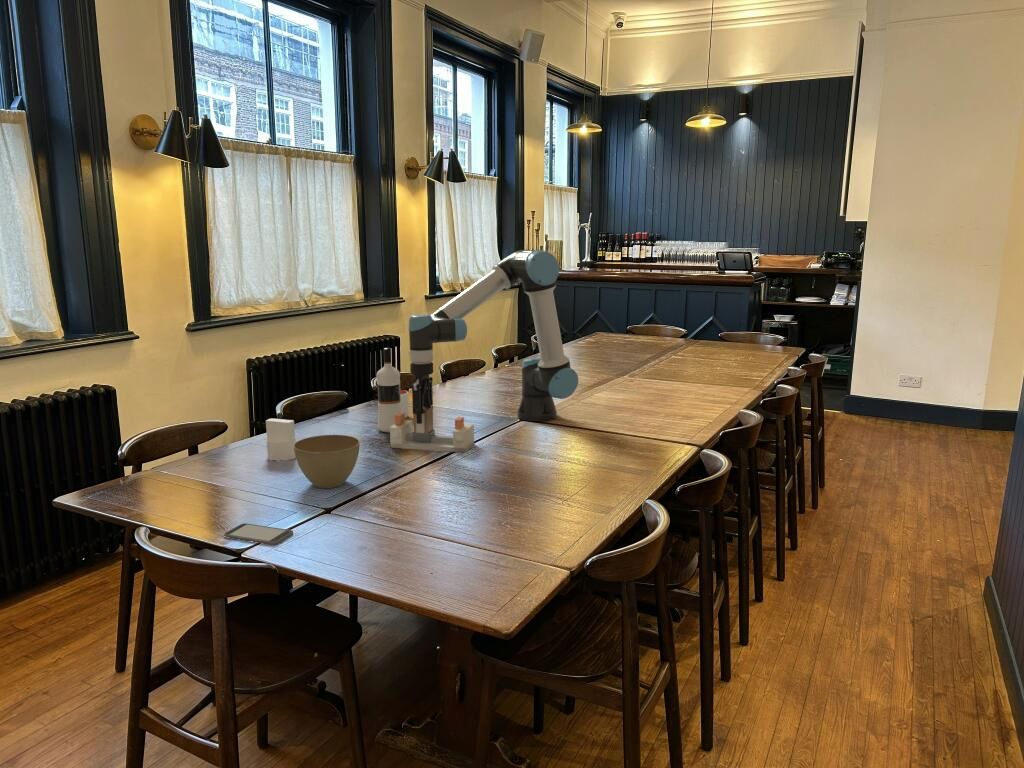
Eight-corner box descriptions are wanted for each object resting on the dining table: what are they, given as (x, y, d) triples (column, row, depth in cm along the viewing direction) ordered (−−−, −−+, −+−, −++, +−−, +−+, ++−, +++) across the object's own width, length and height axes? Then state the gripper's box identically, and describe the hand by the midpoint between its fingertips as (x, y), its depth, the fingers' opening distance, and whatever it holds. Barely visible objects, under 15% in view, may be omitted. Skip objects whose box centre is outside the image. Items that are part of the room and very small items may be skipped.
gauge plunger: (404, 421, 249) (404, 412, 248) (400, 424, 245) (399, 415, 244) (399, 421, 249) (399, 412, 249) (394, 424, 245) (394, 415, 245)
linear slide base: (474, 444, 247) (473, 415, 245) (464, 453, 238) (464, 423, 236) (402, 439, 254) (401, 411, 252) (390, 447, 244) (389, 418, 242)
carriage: (434, 437, 248) (434, 406, 246) (429, 441, 243) (428, 409, 241) (418, 436, 249) (417, 405, 247) (412, 440, 244) (411, 409, 242)
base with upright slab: (302, 454, 238) (300, 418, 235) (285, 462, 230) (283, 425, 227) (279, 451, 241) (276, 416, 238) (261, 459, 232) (258, 422, 230)
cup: (404, 421, 278) (403, 395, 276) (379, 420, 280) (377, 394, 278) (412, 415, 287) (411, 390, 285) (388, 413, 289) (387, 389, 287)
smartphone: (275, 542, 168) (222, 534, 173) (275, 547, 169) (222, 538, 174) (294, 530, 175) (243, 522, 180) (294, 534, 175) (243, 527, 180)
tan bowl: (328, 499, 198) (326, 456, 195) (282, 487, 207) (279, 446, 204) (374, 480, 213) (372, 439, 210) (329, 469, 222) (327, 431, 219)
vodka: (375, 427, 269) (371, 346, 263) (400, 425, 272) (397, 345, 266) (380, 434, 260) (376, 350, 254) (405, 431, 264) (402, 349, 257)
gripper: (420, 357, 250) (422, 422, 255) (400, 366, 233) (402, 436, 238) (441, 357, 248) (443, 424, 253) (422, 367, 231) (424, 438, 236)
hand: (423, 430), depth 245 cm, fingers closed on carriage, 5 cm apart
